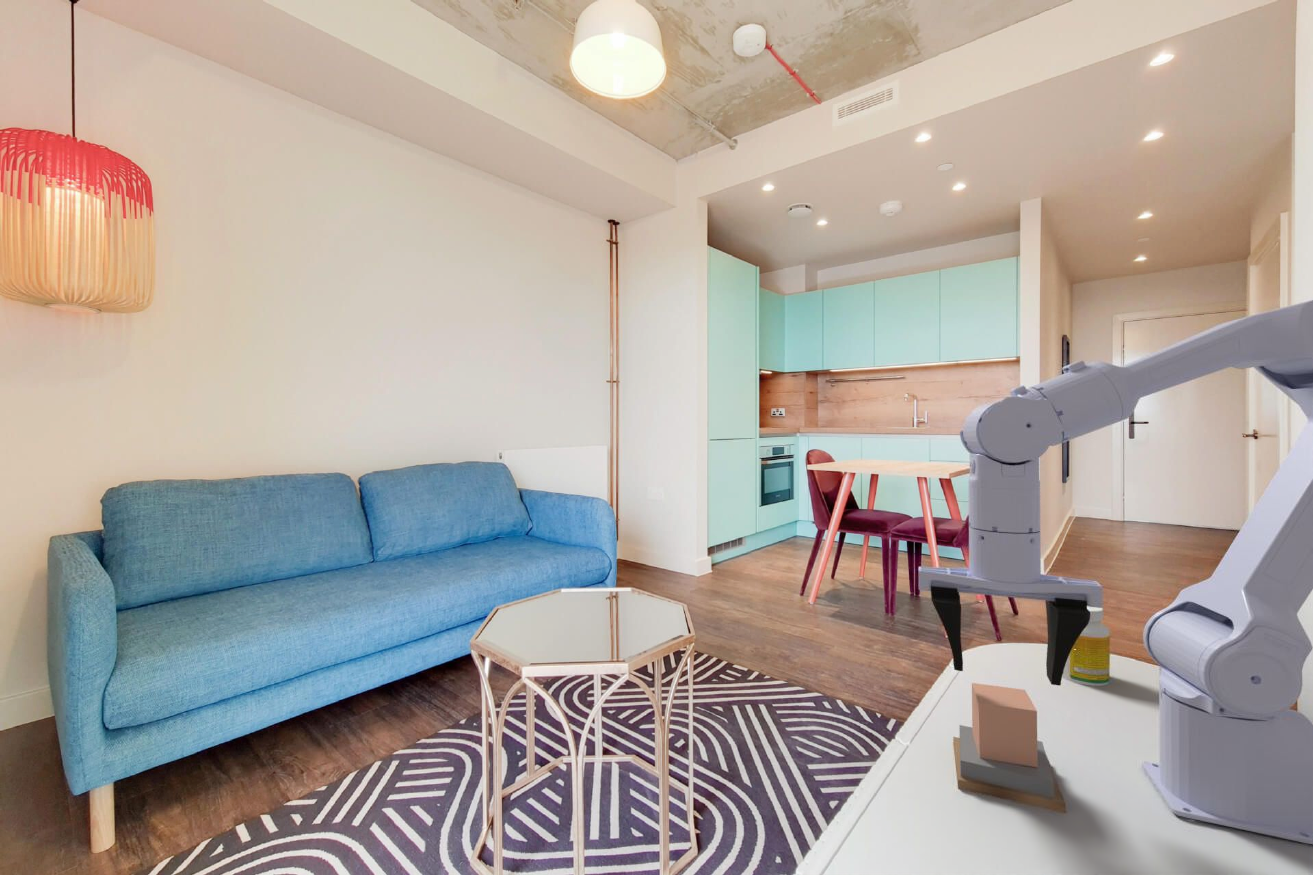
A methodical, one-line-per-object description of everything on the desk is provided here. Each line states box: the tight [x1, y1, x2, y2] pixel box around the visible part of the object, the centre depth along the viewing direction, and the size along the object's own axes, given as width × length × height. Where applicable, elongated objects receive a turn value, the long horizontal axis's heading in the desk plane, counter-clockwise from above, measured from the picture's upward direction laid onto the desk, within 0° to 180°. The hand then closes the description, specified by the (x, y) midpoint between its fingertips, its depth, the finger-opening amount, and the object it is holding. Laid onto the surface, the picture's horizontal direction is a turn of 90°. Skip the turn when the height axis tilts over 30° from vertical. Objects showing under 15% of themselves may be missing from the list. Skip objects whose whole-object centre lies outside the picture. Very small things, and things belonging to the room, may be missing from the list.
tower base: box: [952, 736, 1067, 814], centre depth 53 cm, size 8×8×2 cm
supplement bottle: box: [1062, 606, 1111, 687], centre depth 73 cm, size 5×5×10 cm
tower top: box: [959, 724, 1054, 799], centre depth 53 cm, size 7×7×2 cm
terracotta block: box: [971, 682, 1038, 768], centre depth 53 cm, size 4×4×5 cm
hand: (1004, 673), depth 53 cm, fingers open, 7 cm apart
